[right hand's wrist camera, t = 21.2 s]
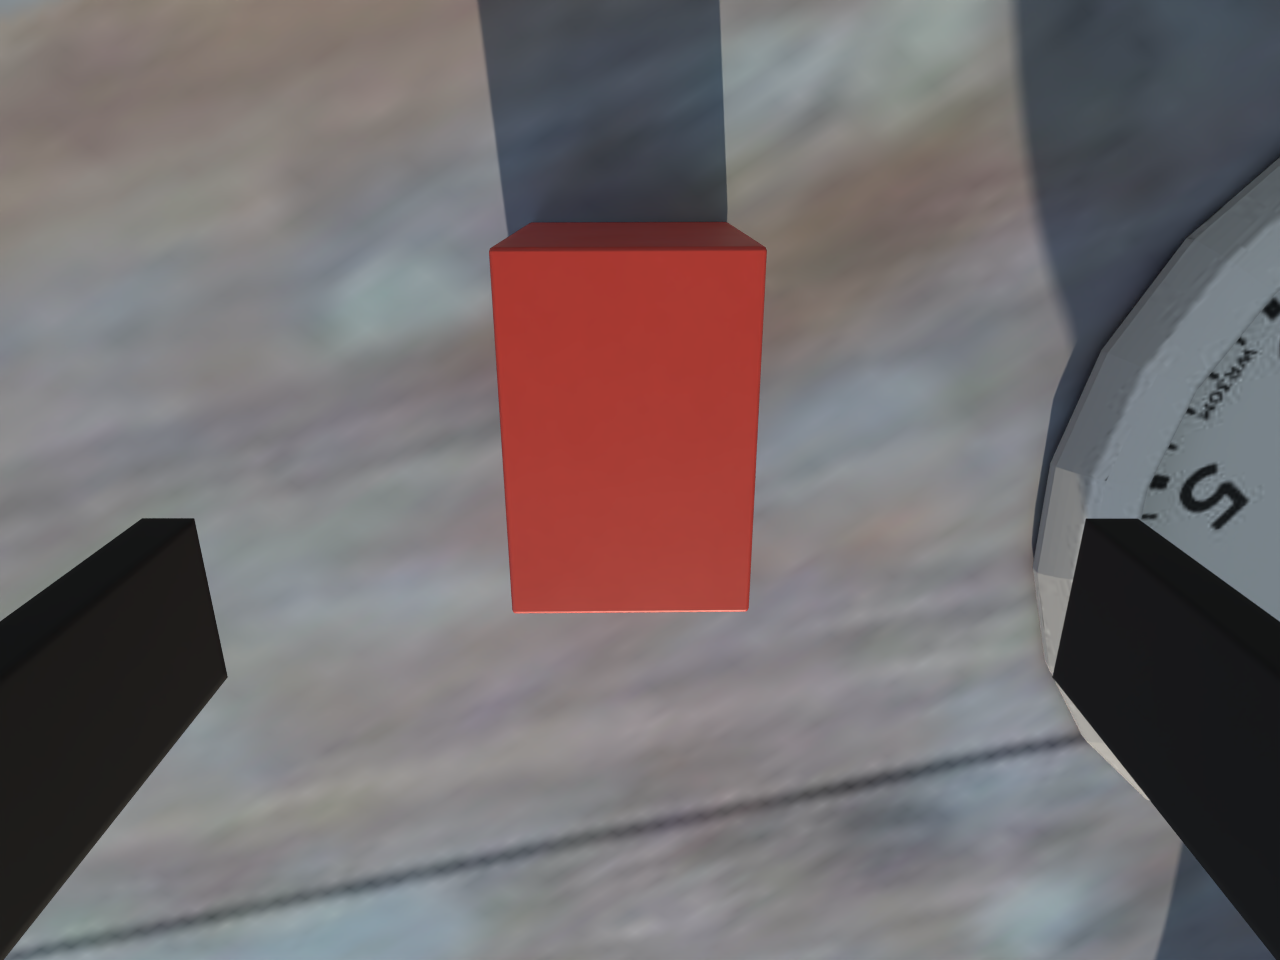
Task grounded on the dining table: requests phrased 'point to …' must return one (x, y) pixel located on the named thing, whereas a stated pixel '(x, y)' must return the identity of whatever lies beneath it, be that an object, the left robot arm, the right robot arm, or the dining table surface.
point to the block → (629, 413)
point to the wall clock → (1181, 422)
